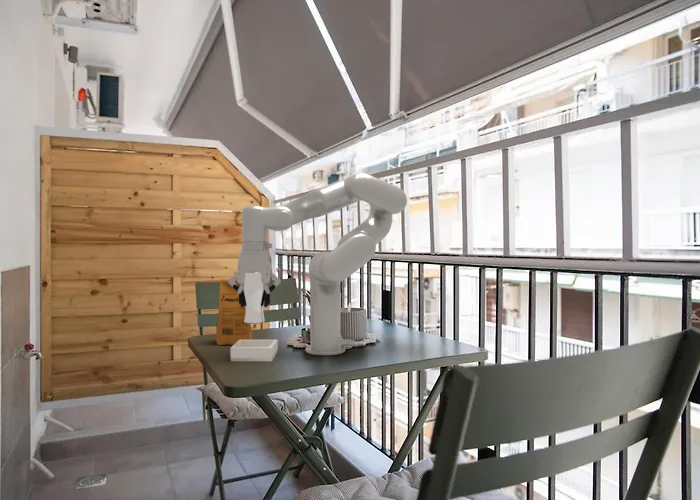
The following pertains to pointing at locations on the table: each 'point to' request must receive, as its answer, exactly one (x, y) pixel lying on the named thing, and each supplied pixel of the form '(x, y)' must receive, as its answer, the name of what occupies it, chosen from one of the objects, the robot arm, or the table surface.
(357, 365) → the table surface
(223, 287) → the coffee package
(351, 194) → the robot arm
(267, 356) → the tray
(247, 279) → the beer glass
